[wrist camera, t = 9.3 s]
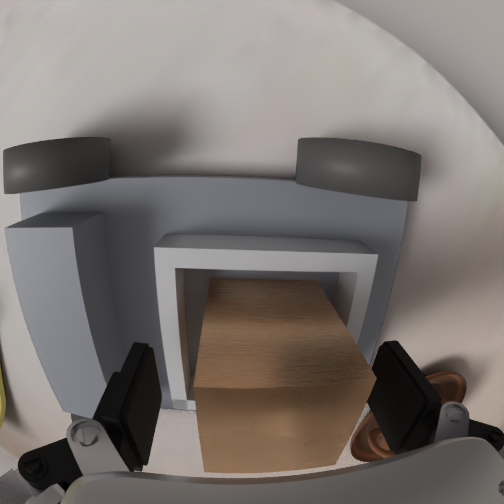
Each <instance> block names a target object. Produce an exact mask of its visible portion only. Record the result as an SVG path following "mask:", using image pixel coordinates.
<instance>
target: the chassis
mask: <svg viewBox="0 0 504 504" xmlns="http://www.w3.org/2000/svg"><path fill="white" fill-rule="evenodd" d="M420 168H421V155H420V154H417V153H415V152H412V151H409V150H405V149H401V148H397V147H393V146H388V145H383V144H377V143H371V142H365V141H357V140H348V139H337V138H300V139H298V150H297V165H296V179H281V178H265V177H245V176H215V175H144V176H115V177H110V139H109V138H102V137H79V138H64V139H54V140H46V141H39V142H33V143H27V144H22V145H18V146H14V147H11V148H8V149H5V150H4V151H3V177H4V193H5V194H16V193H20V203H21V215H22V221H20V222H18V223H15V224H13V225H11V226H8V227H6V228H5V235H6V242H7V248H8V254H9V259H10V264H11V269H12V274H13V278H14V282H15V286H16V290H17V294H18V298H19V302H20V305H21V309H22V312H23V315H24V319H25V322H26V325H27V328H28V331H29V334H30V337H31V339H32V342H33V345H34V348H35V350H36V353H37V355H38V358H39V360H40V363H41V365H42V368H43V370H44V372H45V375H46V377H47V379H48V381H49V383H50V386H51V388H52V390H53V392H54V394H55V396H56V398H57V400H58V402H59V404H60V406H61V408H62V410H63V411H65V412H68V413H71V419H72V423H73V422H74V421H76V420H78V419H82V418H90V419H92V418H93V416H94V413H95V411H96V409H97V406H98V404H99V402H100V400H101V397H102V395H103V393H104V391H105V389H106V386H107V384H108V382H109V380H110V378H111V376H112V374H113V372H115V371H117V372H120V371H121V369H122V366H123V364H124V362H125V360H126V358H127V355H128V353H129V351H130V349H131V347H132V345H133V343H134V342H139V343H148V344H149V347H153V349H154V355H155V360H156V366H157V372H158V377H159V382H160V387H161V392H162V402H161V406H160V408H165V409H175V410H187V411H196V406H195V396H194V387H193V386H194V379H195V372H196V365H197V358H198V351H199V344H200V338H201V331H202V325H203V318H204V312H205V306H206V300H207V294H208V288H209V282H210V278H239V279H284V280H316V281H317V282H318V284H319V285H320V287H321V288H322V290H323V291H324V293H325V295H326V296H327V298H328V299H329V301H330V302H331V304H332V306H333V307H334V309H335V310H336V312H337V314H338V315H339V317H340V318H341V320H342V322H343V323H344V325H345V326H346V328H347V330H348V331H349V333H350V335H351V336H352V338H353V340H354V341H355V343H356V344H357V346H358V348H359V349H360V351H361V353H362V354H363V356H364V358H365V359H366V361H367V363H368V364H370V361H371V358H372V355H373V352H374V349H375V346H376V343H377V340H378V336H379V333H380V330H381V327H382V323H383V320H384V316H385V313H386V309H387V305H388V301H389V298H390V294H391V290H392V286H393V281H394V277H395V273H396V268H397V264H398V259H399V254H400V249H401V244H402V238H403V232H404V226H405V220H406V214H407V207H408V201H417V196H418V188H419V178H420Z"/></svg>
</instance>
